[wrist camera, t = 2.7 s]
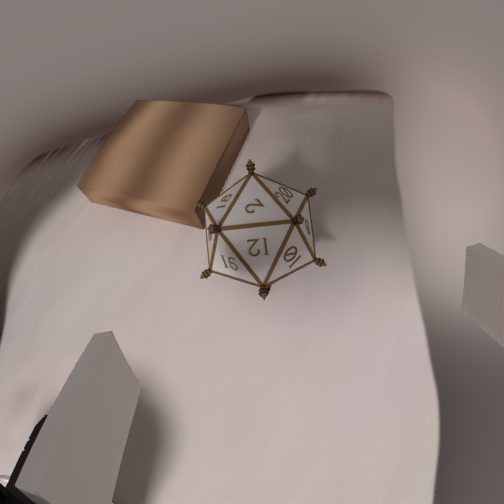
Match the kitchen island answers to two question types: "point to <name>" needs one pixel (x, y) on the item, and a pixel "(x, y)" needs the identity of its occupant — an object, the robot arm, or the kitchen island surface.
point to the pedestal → (167, 159)
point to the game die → (259, 231)
